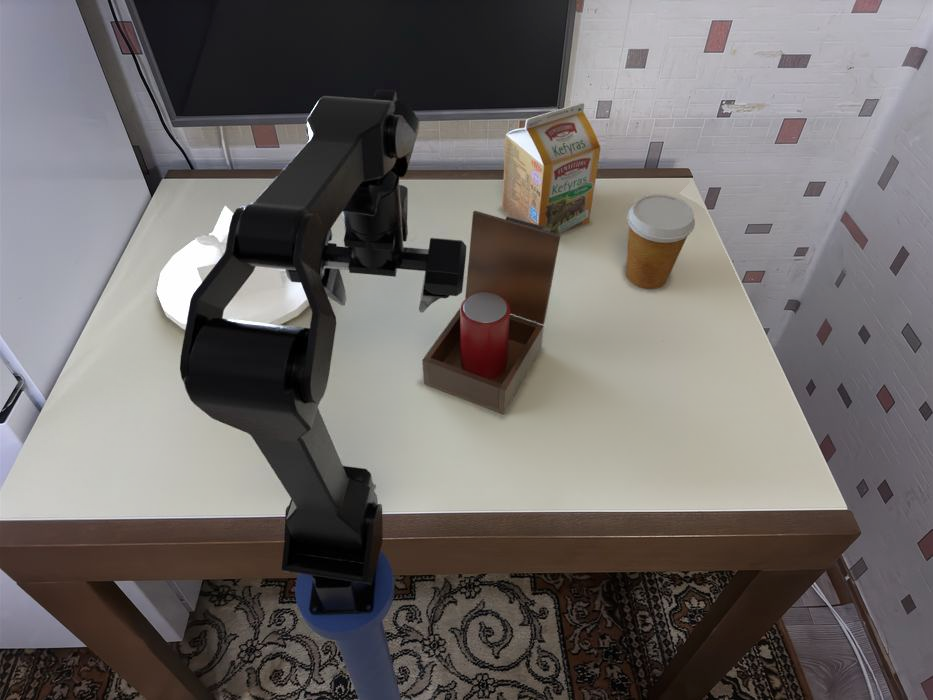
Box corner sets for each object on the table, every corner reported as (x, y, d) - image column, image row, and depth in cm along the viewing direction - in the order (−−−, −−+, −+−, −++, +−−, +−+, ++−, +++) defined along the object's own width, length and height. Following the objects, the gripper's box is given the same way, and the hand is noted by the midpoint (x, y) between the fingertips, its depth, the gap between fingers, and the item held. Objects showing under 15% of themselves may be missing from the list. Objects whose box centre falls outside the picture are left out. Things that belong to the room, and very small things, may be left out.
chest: (503, 414, 86) (505, 390, 82) (423, 384, 89) (422, 359, 86) (541, 350, 93) (543, 325, 90) (466, 323, 97) (466, 299, 93)
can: (508, 379, 89) (512, 324, 81) (461, 380, 89) (460, 325, 81) (505, 345, 93) (508, 289, 85) (460, 346, 93) (459, 290, 85)
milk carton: (536, 242, 110) (546, 135, 96) (502, 209, 116) (507, 104, 102) (588, 222, 113) (605, 117, 100) (552, 191, 120) (563, 88, 106)
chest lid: (559, 237, 81) (570, 222, 85) (472, 212, 85) (487, 199, 88) (543, 324, 89) (554, 308, 93) (465, 298, 93) (478, 284, 96)
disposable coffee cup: (691, 280, 103) (711, 216, 94) (646, 305, 100) (663, 240, 91) (646, 248, 109) (662, 184, 100) (602, 270, 105) (614, 206, 96)
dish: (342, 312, 99) (330, 251, 90) (163, 355, 93) (134, 294, 85) (309, 218, 114) (297, 159, 106) (155, 249, 109) (130, 190, 100)
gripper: (473, 163, 70) (467, 259, 83) (294, 148, 70) (317, 246, 83) (464, 245, 64) (459, 334, 77) (269, 228, 64) (298, 320, 78)
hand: (382, 305), depth 79 cm, fingers open, 9 cm apart
